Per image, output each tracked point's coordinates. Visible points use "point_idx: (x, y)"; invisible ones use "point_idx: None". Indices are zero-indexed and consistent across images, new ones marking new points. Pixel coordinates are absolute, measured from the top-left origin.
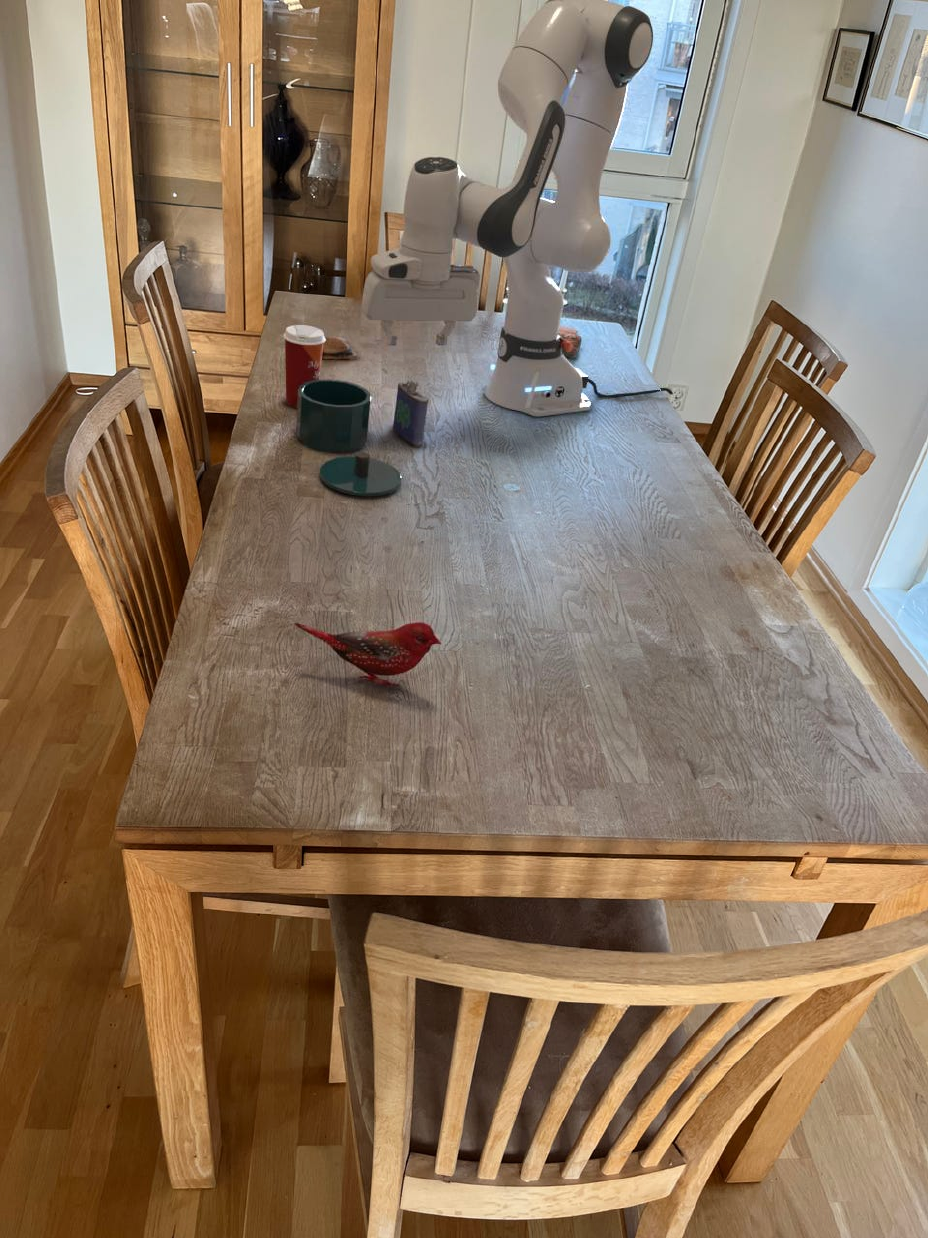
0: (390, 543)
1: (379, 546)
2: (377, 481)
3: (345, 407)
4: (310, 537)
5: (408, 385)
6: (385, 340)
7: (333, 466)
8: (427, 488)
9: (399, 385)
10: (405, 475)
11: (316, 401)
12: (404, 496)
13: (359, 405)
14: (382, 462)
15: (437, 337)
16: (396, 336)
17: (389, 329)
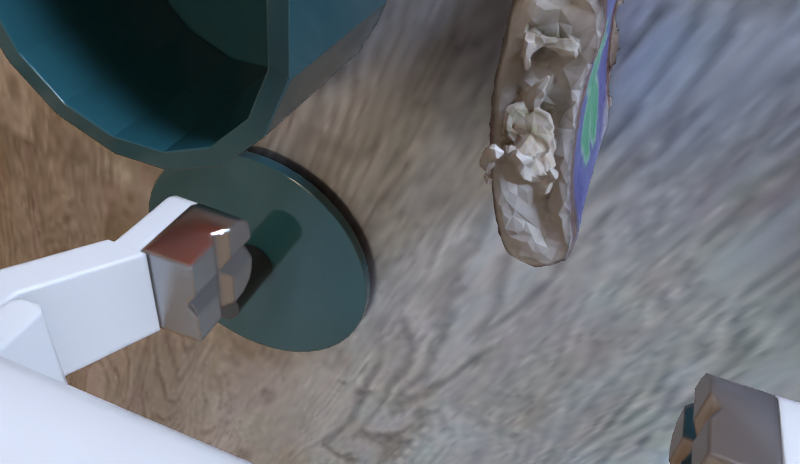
0: (252, 447)
1: (231, 443)
2: (285, 309)
3: (142, 161)
4: (120, 368)
5: (533, 100)
6: (167, 200)
7: (189, 196)
8: (430, 356)
9: (510, 21)
10: (404, 280)
11: (30, 70)
12: (349, 355)
13: (202, 167)
14: (339, 233)
15: (693, 445)
16: (196, 338)
17: (80, 364)
